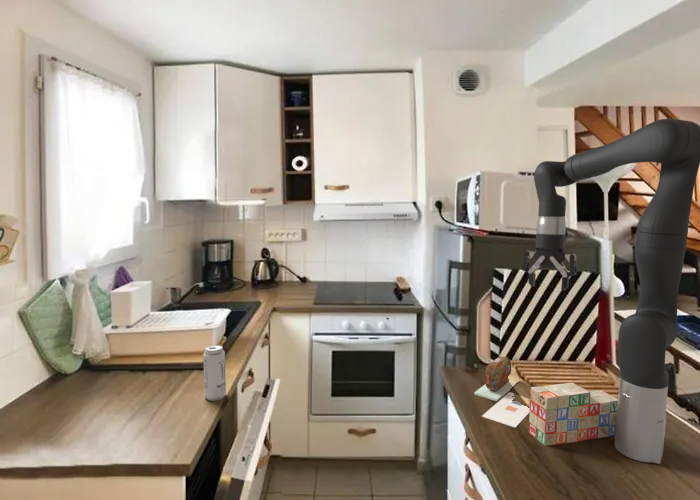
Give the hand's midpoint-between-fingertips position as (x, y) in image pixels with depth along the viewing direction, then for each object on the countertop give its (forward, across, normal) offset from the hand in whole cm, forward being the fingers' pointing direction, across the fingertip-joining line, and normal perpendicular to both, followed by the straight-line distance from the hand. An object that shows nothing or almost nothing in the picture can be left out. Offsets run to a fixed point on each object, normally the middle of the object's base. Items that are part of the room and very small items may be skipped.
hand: (547, 288), depth 126 cm
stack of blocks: (+34, -13, +16) cm, 39 cm away
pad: (+33, +12, +2) cm, 35 cm away
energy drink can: (+33, +73, +64) cm, 103 cm away
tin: (+33, +13, +2) cm, 35 cm away
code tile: (+33, +4, +13) cm, 36 cm away
